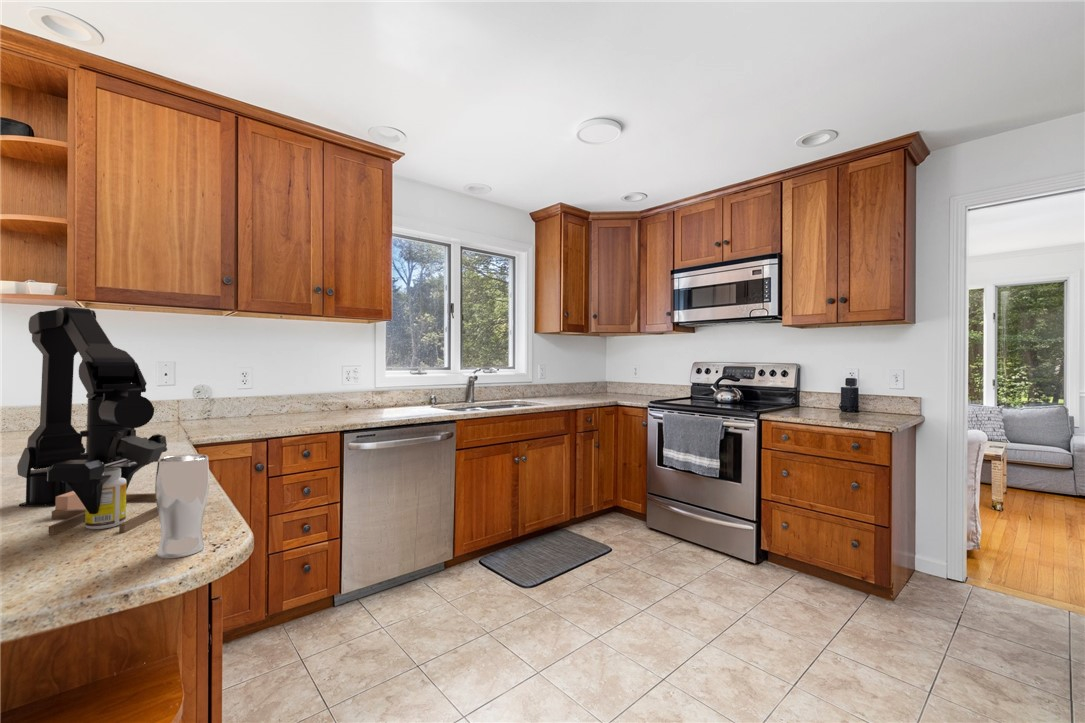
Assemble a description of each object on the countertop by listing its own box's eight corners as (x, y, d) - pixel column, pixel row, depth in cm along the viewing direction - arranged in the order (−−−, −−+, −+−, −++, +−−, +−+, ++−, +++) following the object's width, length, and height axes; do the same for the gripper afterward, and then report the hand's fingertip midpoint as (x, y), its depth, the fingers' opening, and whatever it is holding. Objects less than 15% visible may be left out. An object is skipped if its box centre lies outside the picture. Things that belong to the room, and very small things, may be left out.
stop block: (55, 517, 92) (55, 496, 92) (94, 502, 101) (95, 483, 101) (67, 517, 92) (67, 496, 92) (105, 502, 102) (105, 483, 102)
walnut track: (6, 536, 82) (6, 527, 82) (97, 501, 102) (97, 494, 102) (124, 532, 85) (124, 524, 85) (190, 499, 105) (190, 492, 105)
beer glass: (164, 563, 72) (167, 464, 72) (145, 553, 76) (148, 458, 76) (215, 549, 78) (218, 457, 78) (195, 540, 82) (198, 452, 82)
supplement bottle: (113, 518, 92) (115, 465, 92) (132, 522, 90) (134, 468, 90) (77, 527, 86) (78, 471, 87) (96, 532, 85) (98, 474, 85)
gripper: (122, 430, 80) (119, 524, 80) (185, 418, 99) (183, 494, 99) (45, 431, 79) (42, 526, 78) (124, 418, 97) (122, 495, 97)
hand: (105, 508), depth 88 cm, fingers closed on supplement bottle, 6 cm apart
